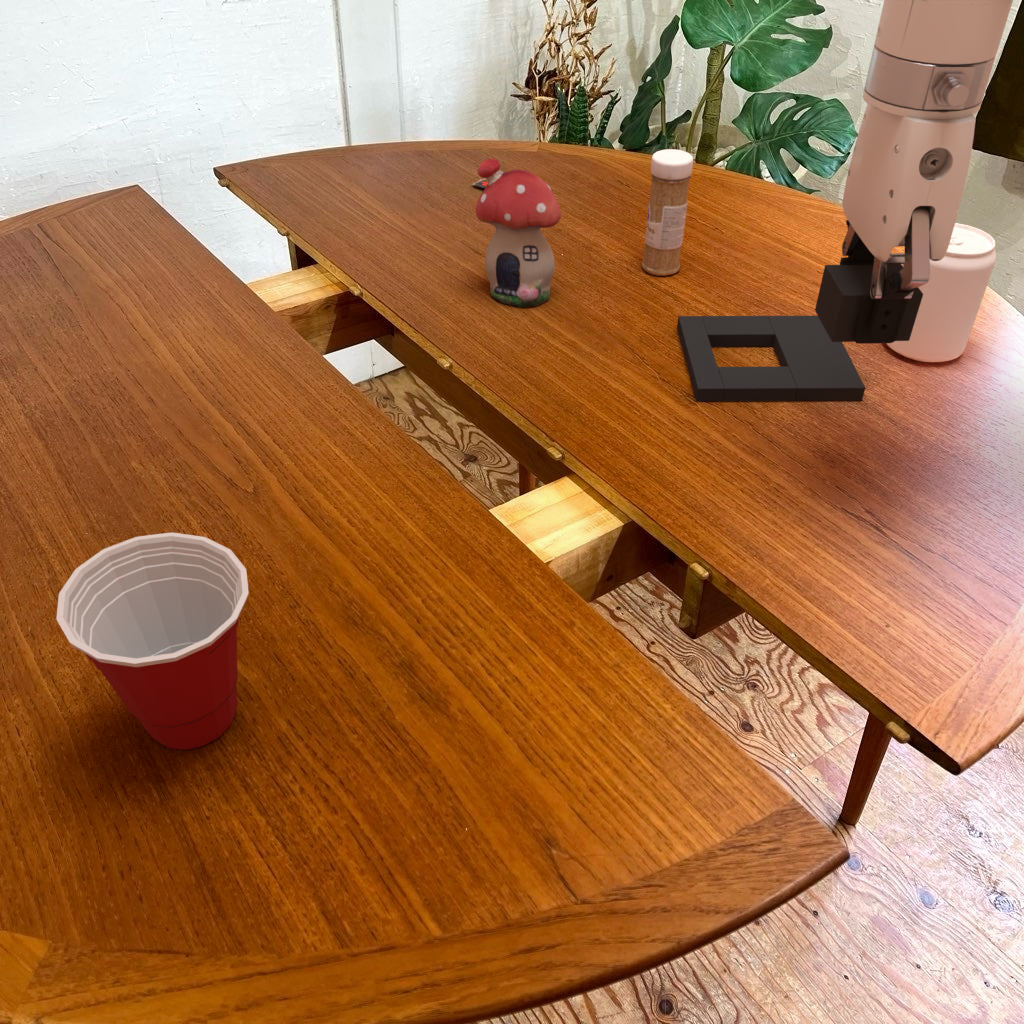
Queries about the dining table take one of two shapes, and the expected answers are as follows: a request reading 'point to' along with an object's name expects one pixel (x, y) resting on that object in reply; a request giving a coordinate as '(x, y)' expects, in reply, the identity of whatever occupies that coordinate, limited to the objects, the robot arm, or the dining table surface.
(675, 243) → the sprinkles bottle
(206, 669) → the plastic cup
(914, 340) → the beverage can
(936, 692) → the dining table surface
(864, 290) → the small black block
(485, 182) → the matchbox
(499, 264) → the decorative ornament
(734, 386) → the base pad
